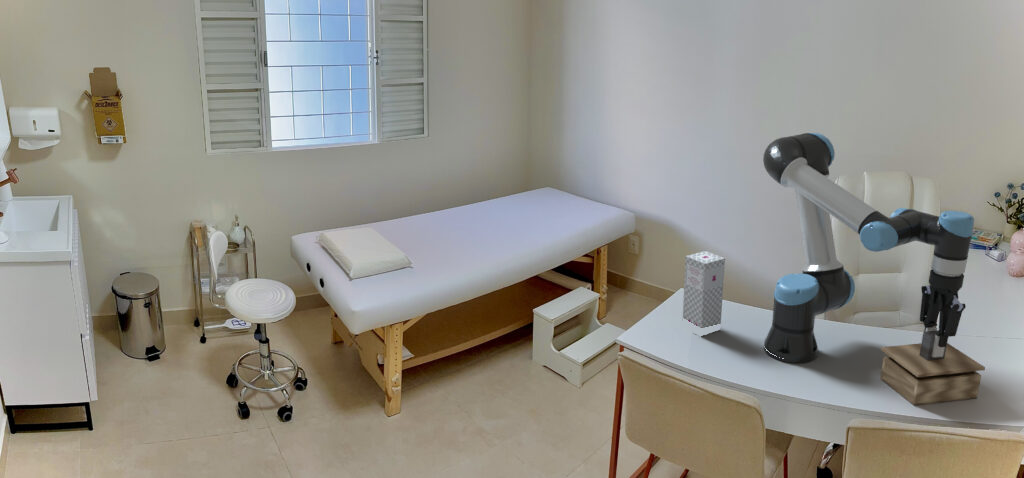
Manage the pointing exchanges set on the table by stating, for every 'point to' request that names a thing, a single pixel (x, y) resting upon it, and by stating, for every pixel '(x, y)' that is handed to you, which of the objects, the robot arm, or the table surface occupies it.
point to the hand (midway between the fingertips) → (932, 352)
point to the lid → (931, 358)
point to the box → (703, 289)
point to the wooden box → (929, 384)
